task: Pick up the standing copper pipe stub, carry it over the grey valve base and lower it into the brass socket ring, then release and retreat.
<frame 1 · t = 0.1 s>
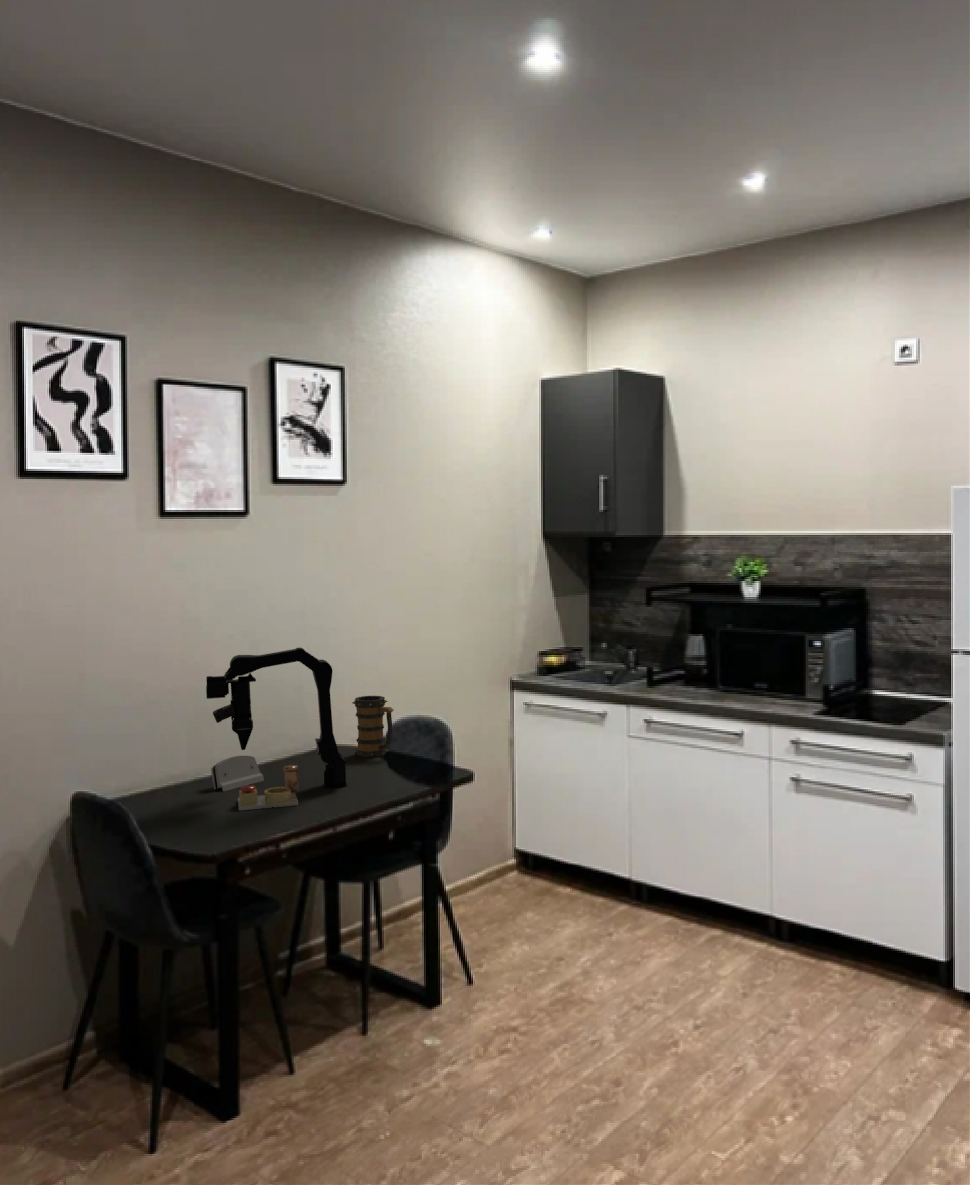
hand: (242, 746, 318), 15 cm above the table, fingers open, 9 cm apart
pipe stub: (291, 792, 319), on the table
valve body: (277, 801, 308), on the table
hinge: (237, 785, 330), on the table
mug: (375, 754, 367), on the table
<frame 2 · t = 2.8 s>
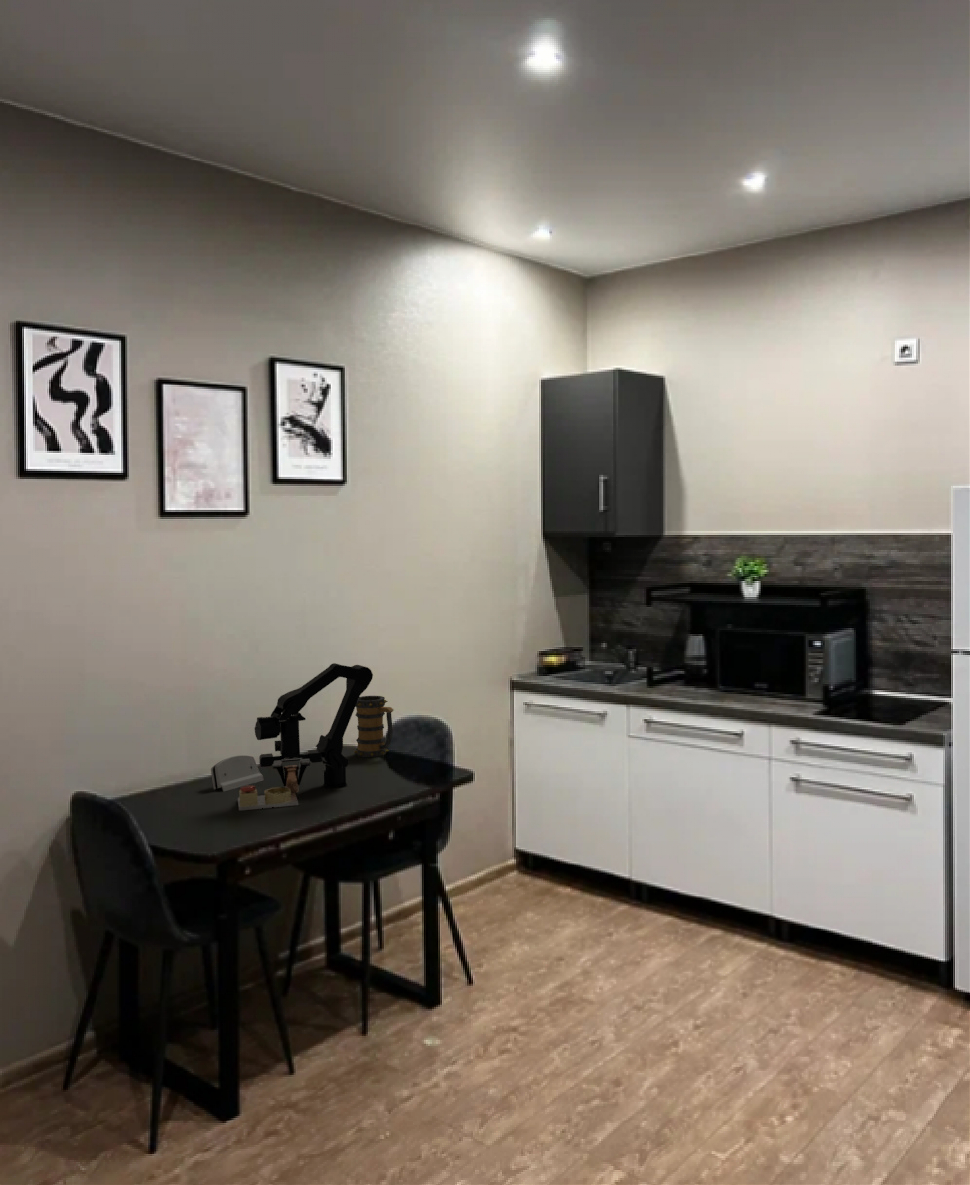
hand: (291, 785, 319), 2 cm above the table, fingers closed on pipe stub, 4 cm apart
pipe stub: (291, 792, 319), on the table, touching gripper
everything else where it was.
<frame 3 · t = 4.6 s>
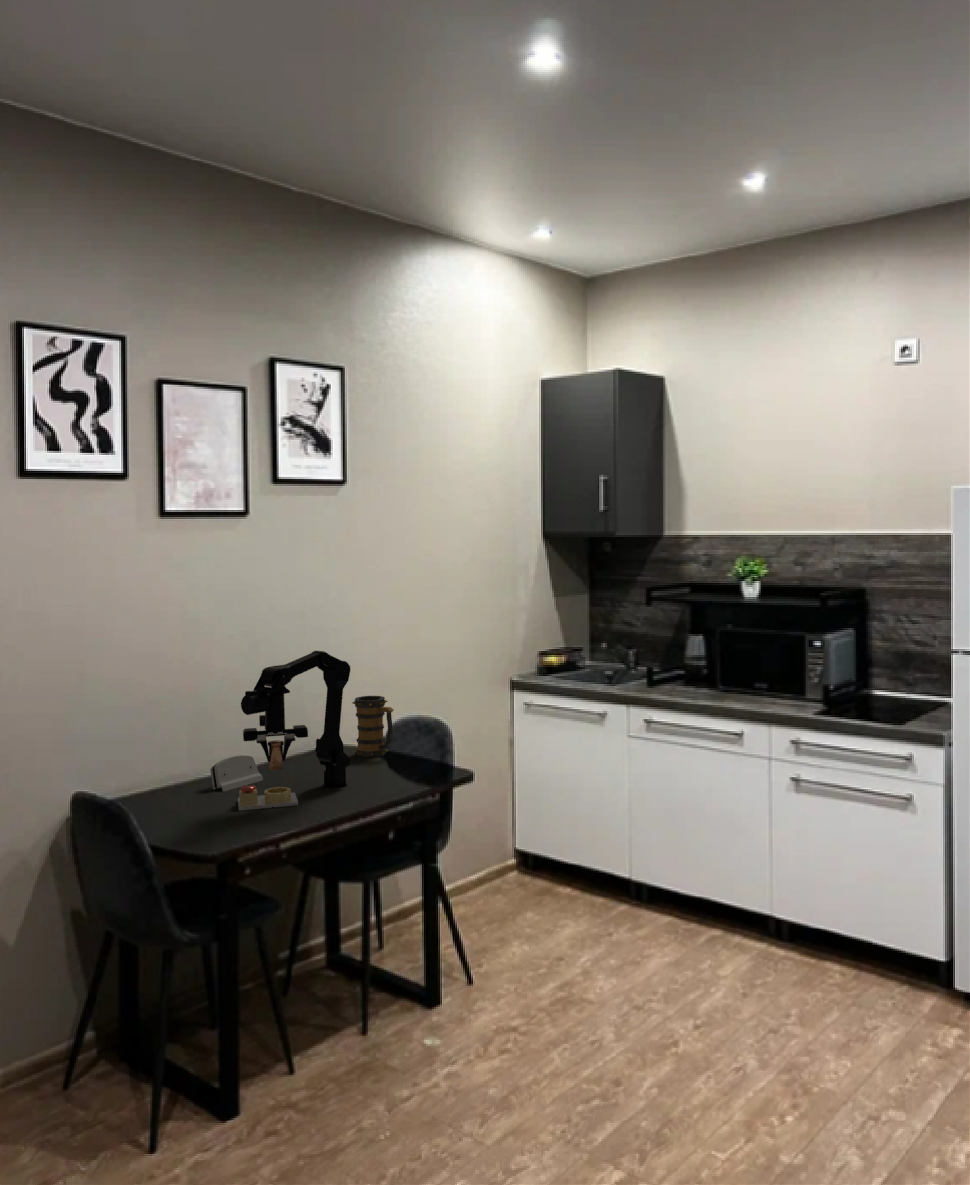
hand: (276, 761, 308), 12 cm above the table, fingers closed on pipe stub, 4 cm apart
pipe stub: (276, 768, 308), point 10 cm above the table, touching gripper
everything else where it was.
when the fingers open (5 cm above the table, at t = 6.6 s): pipe stub drops 2 cm, resting on valve body.
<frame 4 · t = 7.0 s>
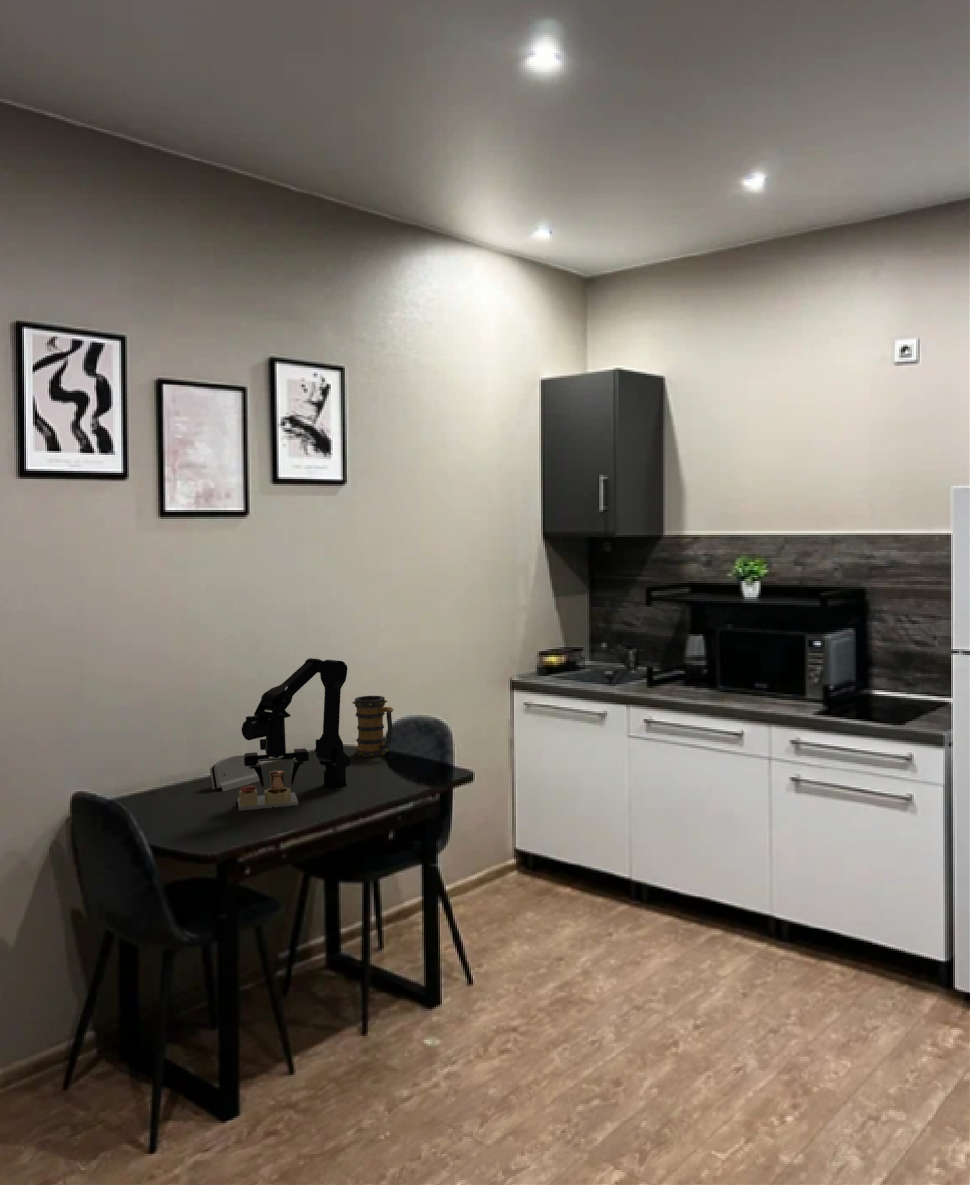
hand: (277, 785, 308), 5 cm above the table, fingers open, 8 cm apart
pipe stub: (277, 798, 308), point 1 cm above the table, touching valve body
everything else where it was.
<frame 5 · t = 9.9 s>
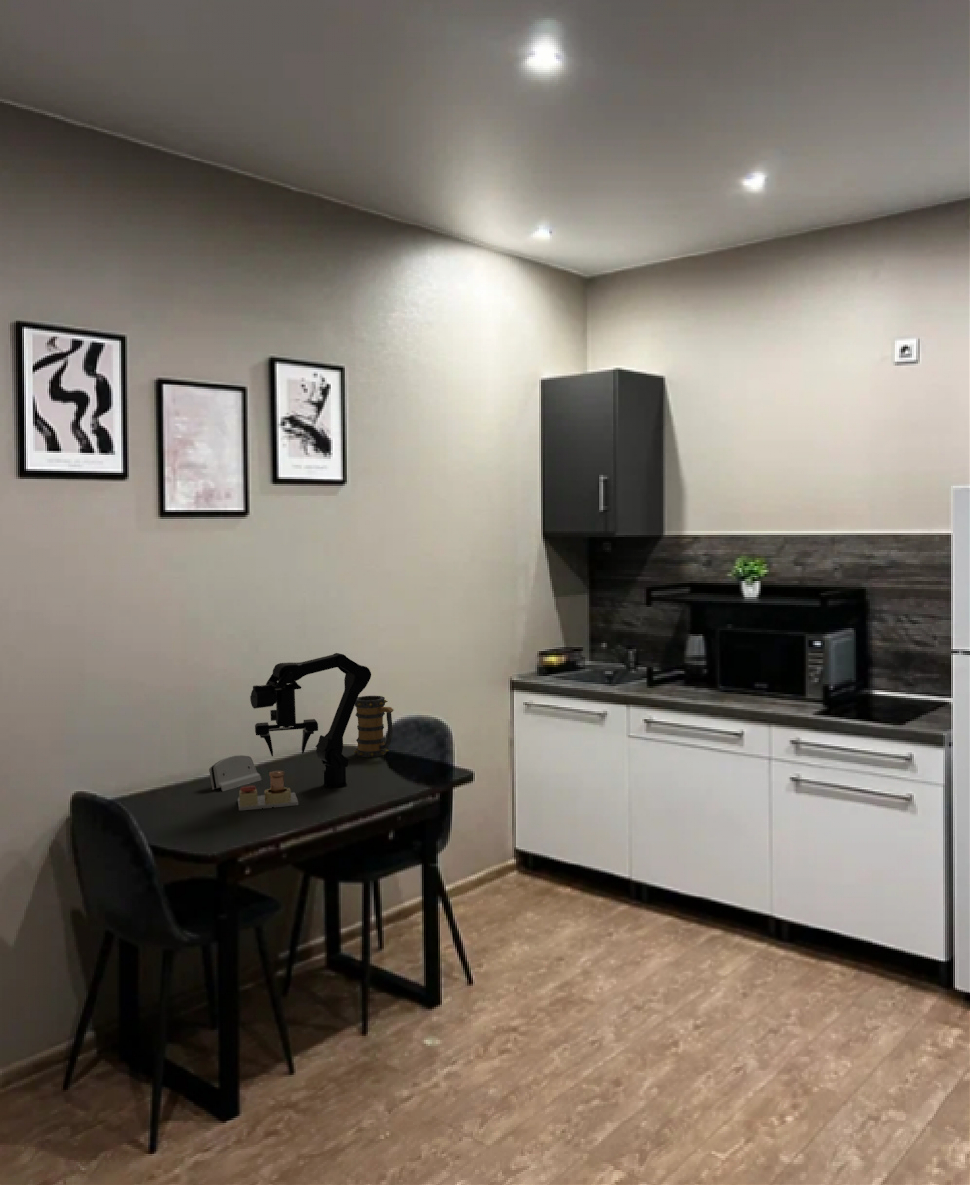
hand: (287, 754, 317), 12 cm above the table, fingers open, 9 cm apart
nothing on the table moved.
at the end: pipe stub 0.1 cm off-centre on the valve body, point 1.0 cm above the valve body's base; pipe stub tilted 0°; the gripper is holding nothing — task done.
